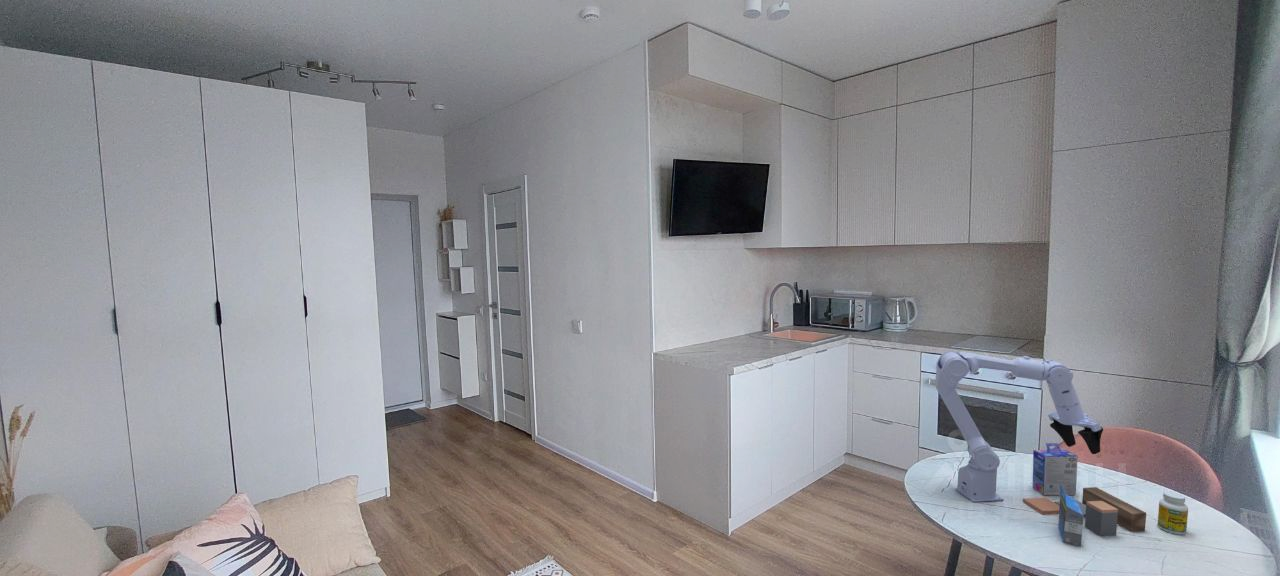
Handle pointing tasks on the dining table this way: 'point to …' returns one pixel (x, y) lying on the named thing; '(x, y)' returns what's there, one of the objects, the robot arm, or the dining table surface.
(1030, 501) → the terracotta pad
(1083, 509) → the slate pad
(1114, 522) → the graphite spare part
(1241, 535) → the dining table surface
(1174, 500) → the supplement bottle
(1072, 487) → the ink cartridge box
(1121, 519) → the block
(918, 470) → the dining table surface
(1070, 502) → the label tape cartridge
